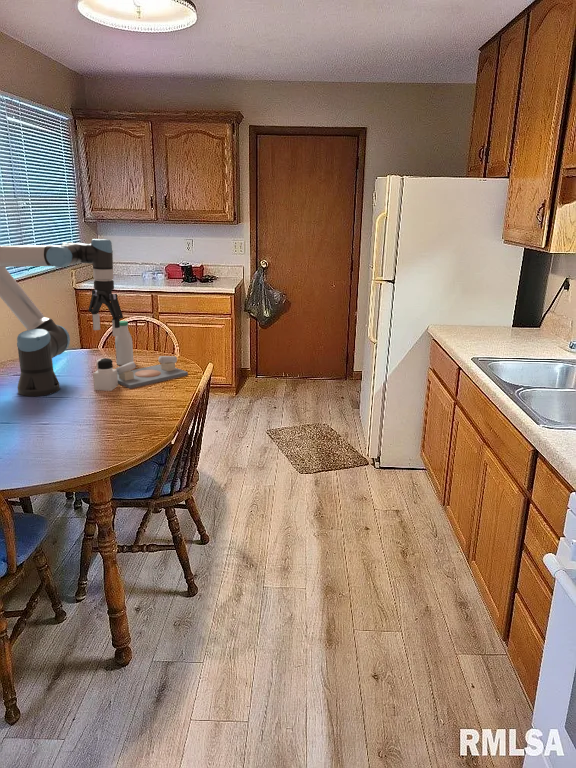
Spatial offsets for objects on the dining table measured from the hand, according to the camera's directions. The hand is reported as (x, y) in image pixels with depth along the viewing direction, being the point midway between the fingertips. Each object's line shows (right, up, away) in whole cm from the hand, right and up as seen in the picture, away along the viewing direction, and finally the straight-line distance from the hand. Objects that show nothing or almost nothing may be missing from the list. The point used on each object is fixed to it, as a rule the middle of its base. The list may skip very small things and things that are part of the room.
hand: (106, 332), depth 224 cm
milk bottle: (-3, -11, +35) cm, 37 cm away
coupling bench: (+13, -18, +16) cm, 27 cm away
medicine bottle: (0, -23, +1) cm, 23 cm away
